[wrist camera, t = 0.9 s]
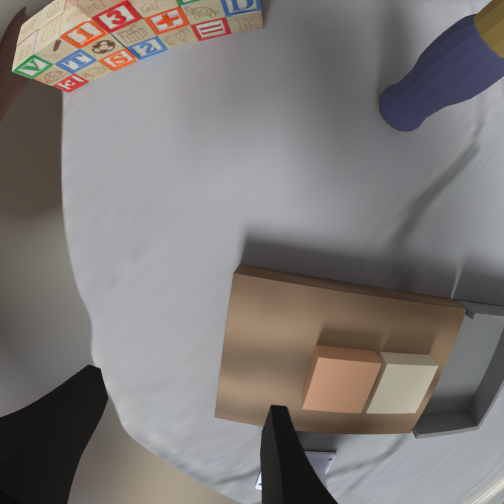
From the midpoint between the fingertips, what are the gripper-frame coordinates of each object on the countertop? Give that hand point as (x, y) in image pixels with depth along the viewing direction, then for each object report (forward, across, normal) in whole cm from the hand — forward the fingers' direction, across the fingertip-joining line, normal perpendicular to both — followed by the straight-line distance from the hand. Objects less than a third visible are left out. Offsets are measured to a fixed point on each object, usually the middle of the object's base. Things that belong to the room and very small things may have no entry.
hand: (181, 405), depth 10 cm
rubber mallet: (+16, -12, -15) cm, 25 cm away
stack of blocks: (+20, +11, -21) cm, 31 cm away
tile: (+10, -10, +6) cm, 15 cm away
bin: (+11, -26, +6) cm, 29 cm away
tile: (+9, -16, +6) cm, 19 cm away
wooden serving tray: (+12, -11, +6) cm, 18 cm away
